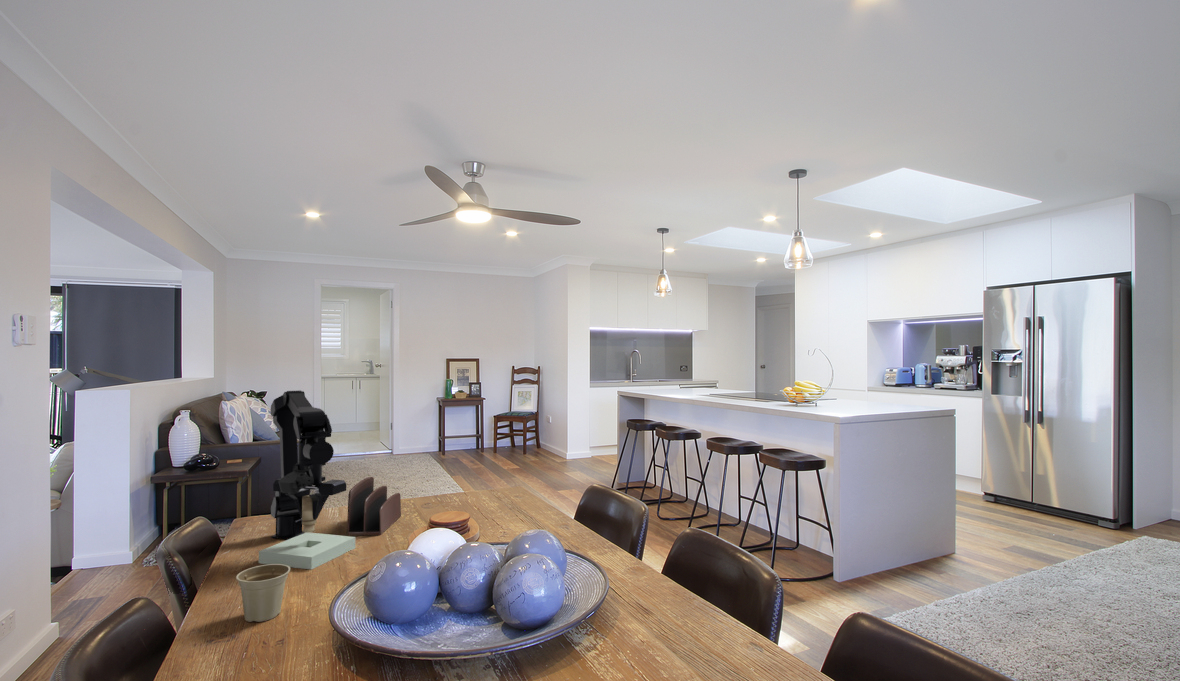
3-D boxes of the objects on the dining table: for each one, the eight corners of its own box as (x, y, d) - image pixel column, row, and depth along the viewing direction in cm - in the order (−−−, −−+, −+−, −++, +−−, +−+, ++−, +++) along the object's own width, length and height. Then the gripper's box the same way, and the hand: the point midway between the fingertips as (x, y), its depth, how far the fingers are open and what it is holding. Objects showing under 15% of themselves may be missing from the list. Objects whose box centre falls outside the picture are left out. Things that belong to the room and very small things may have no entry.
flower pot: (300, 609, 115) (301, 566, 116) (259, 630, 106) (260, 584, 107) (265, 602, 118) (266, 561, 119) (223, 622, 110) (224, 577, 110)
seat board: (258, 563, 141) (258, 551, 141) (306, 543, 157) (306, 532, 157) (311, 569, 137) (311, 557, 137) (355, 548, 152) (355, 537, 153)
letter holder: (346, 536, 163) (347, 487, 164) (370, 517, 183) (371, 473, 184) (381, 535, 164) (381, 487, 164) (401, 516, 184) (401, 473, 184)
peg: (298, 532, 146) (298, 497, 146) (308, 528, 149) (309, 494, 150) (309, 533, 145) (310, 498, 145) (319, 529, 148) (319, 495, 149)
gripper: (256, 462, 142) (254, 524, 142) (317, 466, 137) (316, 530, 137) (290, 455, 153) (289, 512, 153) (348, 458, 148) (347, 518, 148)
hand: (309, 518), depth 147 cm, fingers closed on peg, 3 cm apart
